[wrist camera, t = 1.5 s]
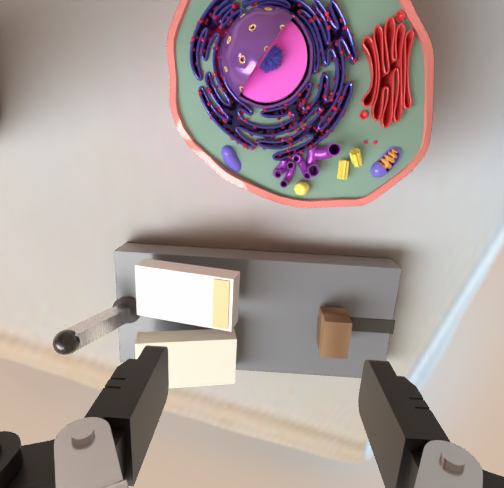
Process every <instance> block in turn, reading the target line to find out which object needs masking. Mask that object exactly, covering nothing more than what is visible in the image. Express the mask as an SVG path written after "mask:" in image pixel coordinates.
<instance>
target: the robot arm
mask: <svg viewBox="0 0 504 488" xmlns="http://www.w3.org/2000/svg"><path fill="white" fill-rule="evenodd" d="M168 387H169V371H168V348H167V347H166V346H150V345H146V346H145V347H144V349H143V351H142V352H141V354H140V356H139V357H138V359H128V360H127V361H125V362H124V363H122V364H121V365H120V366H118V367H117V369H116V370H115V372H114V373H113V375H112V376H111V379H109V381H108V382H107V384H106V385H105V388H103V390H102V392H101V393H100V394H99V396H98V398H97V399H96V400H95V402H94V404H93V405H92V407H91V408H90V410H89V411H88V413H87V415H86V416H85V417H84V418H82V419H79V420H76V421H74V422H72V423H70V424H68V425H67V426H66V427H64V428H63V429H62V430H61V431H60V432H59V433H58V435H57V436H56V438H55V439H54V440H51V441H46V442H40V443H35V444H30V445H24V446H21V441H20V438H19V437H18V435H16V434H15V433H12V432H5V431H3V432H0V488H129V487H128V486H134V484H135V481H136V478H137V476H138V473H139V471H140V468H141V465H142V463H143V460H144V457H145V455H146V452H147V450H148V447H149V444H150V442H151V439H152V437H153V434H154V431H155V428H156V426H157V423H158V421H159V418H160V416H161V413H162V410H163V408H164V405H165V403H166V399H167V395H168ZM359 412H360V416H361V419H362V422H363V425H364V428H365V430H366V433H367V436H368V439H369V442H370V445H371V448H372V450H373V453H374V456H375V459H376V462H377V464H378V467H379V470H380V473H381V476H382V479H383V482H384V485H385V488H504V477H502V476H499V475H496V474H493V473H490V472H487V471H484V470H482V468H481V466H480V464H479V463H478V461H477V460H476V459H475V458H474V457H473V456H472V455H471V454H470V453H469V452H468V451H466V450H465V449H463V448H462V447H460V446H458V445H456V444H453V443H451V442H450V441H449V439H448V437H447V436H446V434H445V433H444V431H443V429H442V428H441V426H440V424H439V423H438V421H437V420H436V418H435V417H434V415H433V413H432V412H431V410H429V407H428V405H427V404H426V402H425V401H424V400H423V398H422V395H421V394H420V392H419V391H418V389H417V387H416V386H415V385H413V384H412V383H411V382H410V381H409V380H407V379H406V378H405V377H402V376H397V375H396V374H395V372H394V370H393V368H392V366H391V365H390V363H389V362H388V361H381V360H365V362H364V366H363V372H362V379H361V385H360V392H359Z"/></svg>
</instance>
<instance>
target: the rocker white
mask: <svg viewBox="0 0 504 488" xmlns="http://www.w3.org/2000/svg"><path fill="white" fill-rule="evenodd" d="M135 282H136V308H137V315H140V316H145V317H151V318H157V319H162V320H168V321H174V322H179V323H185V324H191V325H196V326H202V327H208V328H213V329H219V330H225V331H230V332H231V331H232V330H233V328H234V326H235V325H236V323H237V322H238V306H239V285H240V271H234V270H226V269H219V268H212V267H205V266H197V265H190V264H183V263H175V262H168V261H161V260H154V259H145V260H143V261H141V262H140V263H138V264H136V265H135Z"/></svg>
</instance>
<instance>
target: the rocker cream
mask: <svg viewBox="0 0 504 488" xmlns="http://www.w3.org/2000/svg"><path fill="white" fill-rule="evenodd" d="M146 345H150V346H166V347H167V348H168V371H169V387H168V388H180V387H195V386H209V385H224V384H235V370H236V348H237V337H236V334H235V330H234V328H233V330H232V331H231V332H230V331H225V330H219V329H204V330H179V331H155V332H138V333H137V337H136V341H135V359H138V357H139V356H140V354H141V352H142V351H143V349H144V347H145V346H146Z"/></svg>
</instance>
